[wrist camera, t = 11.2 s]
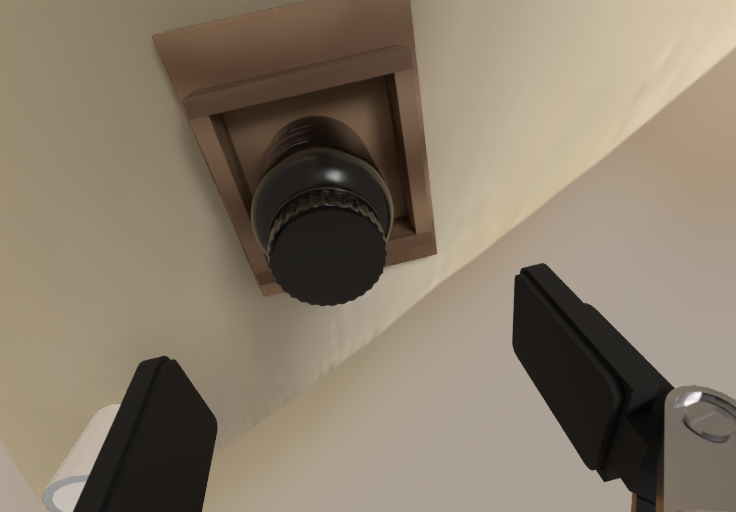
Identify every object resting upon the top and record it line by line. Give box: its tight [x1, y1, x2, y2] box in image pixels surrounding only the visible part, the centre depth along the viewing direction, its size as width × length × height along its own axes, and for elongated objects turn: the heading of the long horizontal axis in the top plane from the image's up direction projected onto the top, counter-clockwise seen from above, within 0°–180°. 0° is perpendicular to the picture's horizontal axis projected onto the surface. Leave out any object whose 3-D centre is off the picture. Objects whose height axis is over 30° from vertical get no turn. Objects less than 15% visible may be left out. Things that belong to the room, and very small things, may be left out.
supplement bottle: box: [251, 116, 394, 306], centre depth 20 cm, size 7×7×12 cm
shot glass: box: [42, 404, 121, 512], centre depth 33 cm, size 7×7×7 cm
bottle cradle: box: [152, 0, 437, 296], centre depth 25 cm, size 18×14×4 cm
